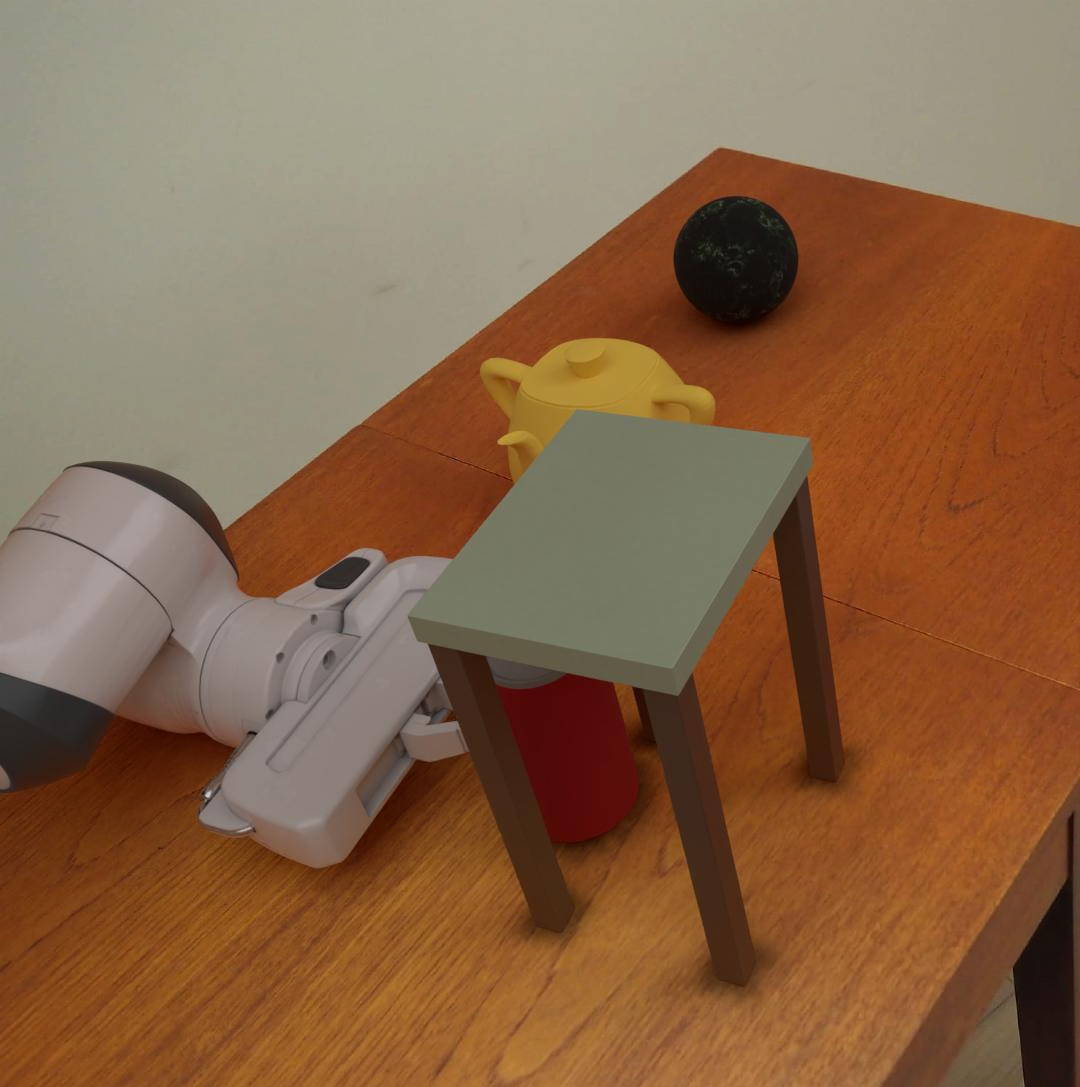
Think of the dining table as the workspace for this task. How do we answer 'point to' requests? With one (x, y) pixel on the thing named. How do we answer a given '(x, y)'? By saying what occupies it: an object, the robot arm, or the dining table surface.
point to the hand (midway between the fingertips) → (504, 727)
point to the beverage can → (569, 747)
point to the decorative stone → (736, 259)
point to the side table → (633, 622)
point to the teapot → (587, 392)
